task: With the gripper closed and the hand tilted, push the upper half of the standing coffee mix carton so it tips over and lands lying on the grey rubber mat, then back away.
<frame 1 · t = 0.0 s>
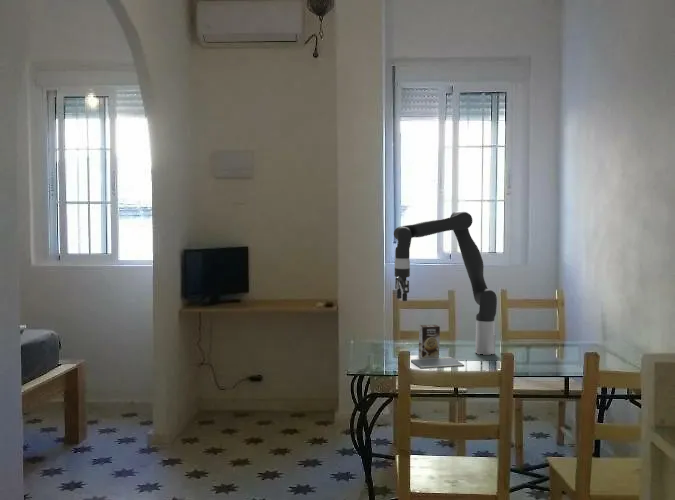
hand: (401, 299, 383), 29 cm above the table, tool pointing down, fingers open, 8 cm apart
mat: (436, 363, 374), on the table
coffee box: (428, 357, 387), on the table
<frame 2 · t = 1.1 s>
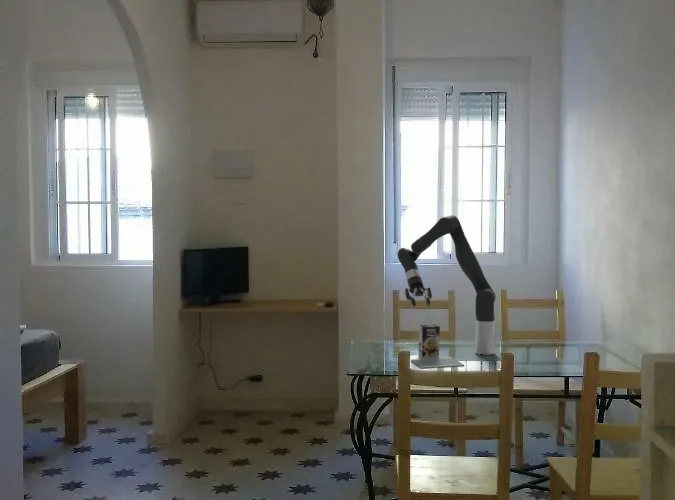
hand: (421, 305, 395), 24 cm above the table, tool tilted 45°, fingers open, 7 cm apart
nothing on the table moved.
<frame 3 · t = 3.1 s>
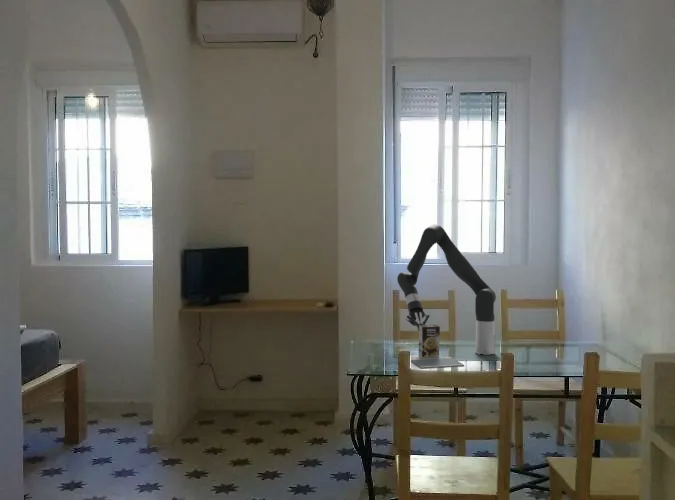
hand: (421, 331, 396), 11 cm above the table, tool tilted 45°, fingers closed
nothing on the table moved.
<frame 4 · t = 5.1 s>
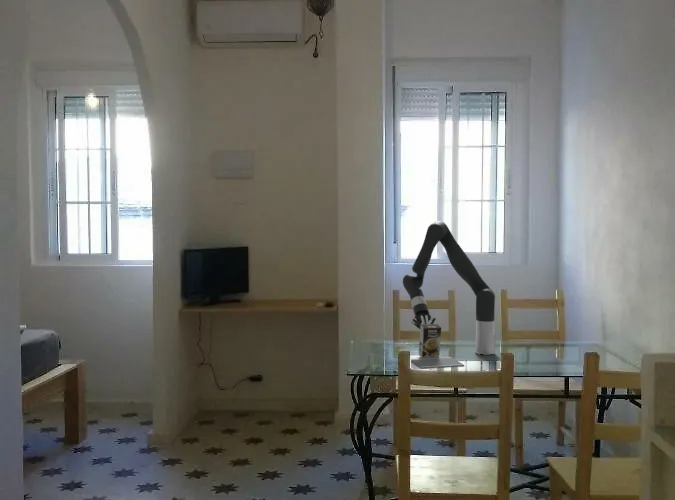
hand: (427, 335, 388), 11 cm above the table, tool tilted 45°, fingers closed
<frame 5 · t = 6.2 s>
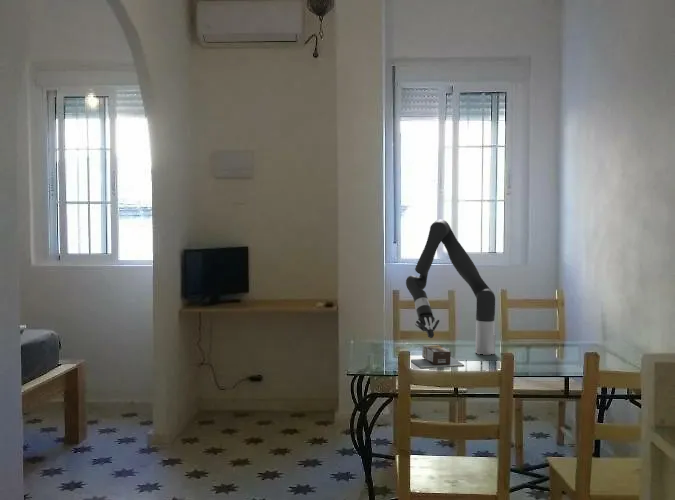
hand: (431, 337, 383), 11 cm above the table, tool tilted 45°, fingers closed
coffee box: (430, 350, 384), point 4 cm above the table, touching mat
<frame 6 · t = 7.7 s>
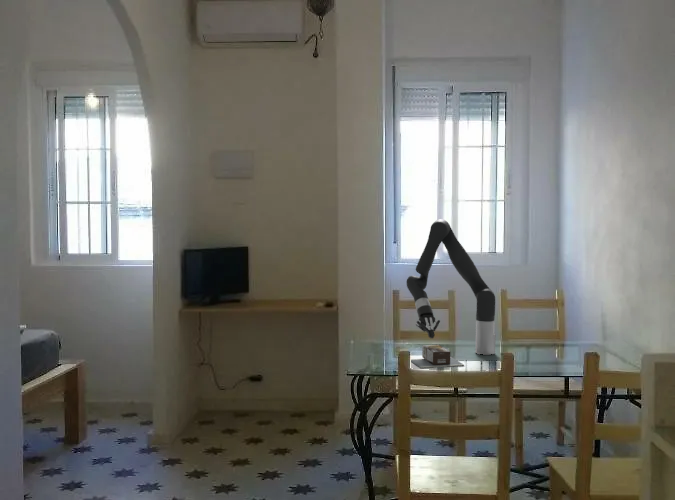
hand: (432, 337, 382), 11 cm above the table, tool tilted 45°, fingers closed
nothing on the table moved.
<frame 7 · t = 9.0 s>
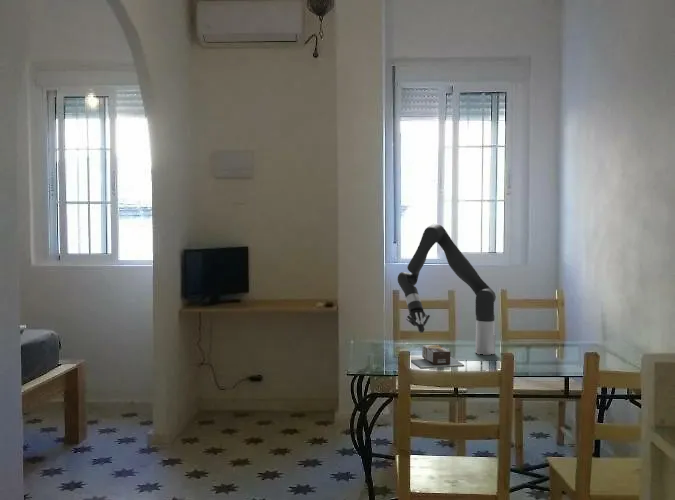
hand: (422, 331, 395), 11 cm above the table, tool tilted 45°, fingers closed
nothing on the table moved.
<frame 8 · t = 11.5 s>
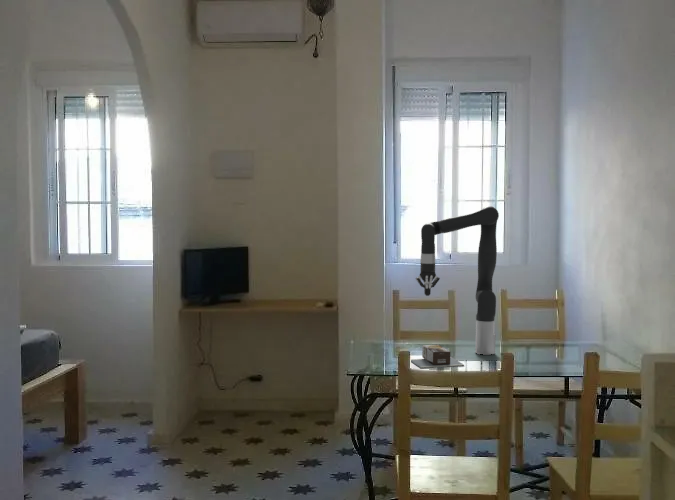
hand: (427, 295, 399), 29 cm above the table, tool pointing down, fingers closed
nothing on the table moved.
at the end: coffee box tilted 90°; coffee box 10.3 cm from the mat (horizontally); coffee box point 3.8 cm above the table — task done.
